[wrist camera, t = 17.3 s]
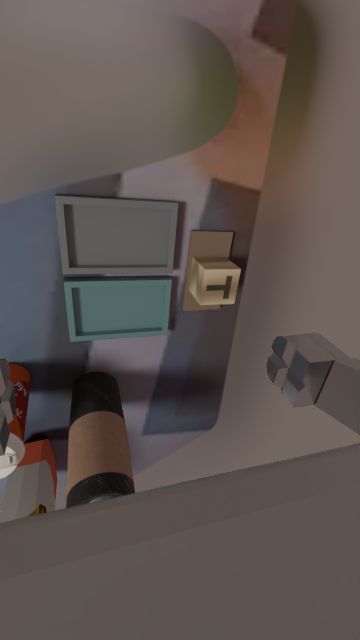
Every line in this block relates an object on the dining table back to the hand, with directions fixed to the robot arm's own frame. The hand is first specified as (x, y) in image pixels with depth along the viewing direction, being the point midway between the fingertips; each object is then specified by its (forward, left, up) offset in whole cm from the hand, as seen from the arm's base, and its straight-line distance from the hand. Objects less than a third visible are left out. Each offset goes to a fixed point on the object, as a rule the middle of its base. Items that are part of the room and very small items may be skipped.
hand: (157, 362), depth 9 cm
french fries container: (+42, -12, -31) cm, 54 cm away
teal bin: (+14, +2, -31) cm, 34 cm away
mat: (+9, +14, -31) cm, 35 cm away
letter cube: (+9, +14, -30) cm, 35 cm away
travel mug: (+29, -2, -31) cm, 43 cm away
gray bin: (+4, +2, -31) cm, 31 cm away
